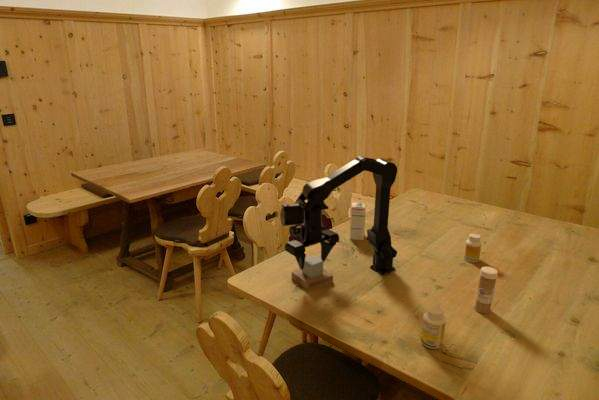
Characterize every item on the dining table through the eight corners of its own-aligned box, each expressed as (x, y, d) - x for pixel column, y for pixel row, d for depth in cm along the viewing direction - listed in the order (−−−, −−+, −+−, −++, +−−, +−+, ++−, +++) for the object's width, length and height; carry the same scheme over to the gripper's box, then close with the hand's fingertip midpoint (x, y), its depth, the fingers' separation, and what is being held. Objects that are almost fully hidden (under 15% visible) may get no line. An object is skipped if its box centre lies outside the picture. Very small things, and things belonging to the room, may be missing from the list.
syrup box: (363, 240, 167) (365, 207, 162) (349, 239, 168) (350, 206, 163) (364, 234, 172) (366, 202, 167) (350, 233, 173) (351, 201, 168)
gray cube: (322, 274, 136) (323, 260, 134) (311, 278, 133) (311, 265, 131) (313, 267, 139) (313, 255, 138) (302, 272, 137) (302, 259, 135)
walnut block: (332, 283, 136) (333, 275, 135) (309, 292, 130) (309, 284, 129) (314, 271, 144) (314, 263, 143) (291, 279, 138) (291, 271, 137)
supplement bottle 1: (435, 335, 110) (440, 302, 106) (446, 348, 104) (451, 315, 101) (416, 337, 109) (420, 304, 105) (426, 351, 103) (430, 317, 100)
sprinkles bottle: (472, 310, 120) (478, 270, 116) (477, 303, 124) (483, 264, 119) (488, 316, 118) (495, 275, 113) (492, 309, 121) (500, 269, 117)
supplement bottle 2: (480, 263, 148) (484, 239, 145) (464, 262, 149) (468, 238, 146) (477, 256, 153) (481, 233, 150) (462, 255, 154) (465, 232, 151)
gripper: (319, 209, 141) (318, 249, 146) (274, 221, 131) (275, 264, 136) (340, 218, 133) (339, 260, 138) (295, 232, 122) (295, 277, 127)
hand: (312, 265), depth 135 cm, fingers open, 9 cm apart
